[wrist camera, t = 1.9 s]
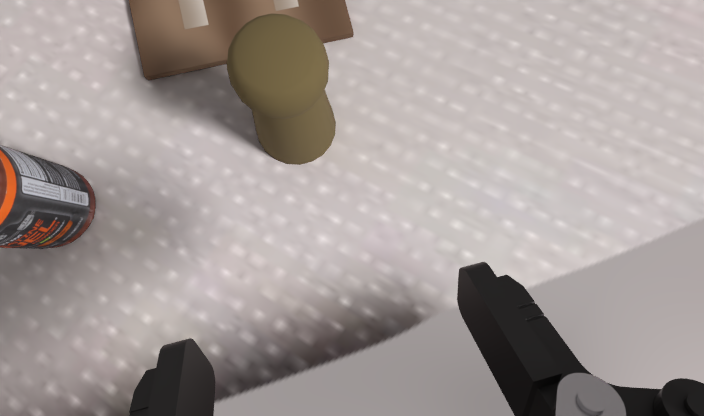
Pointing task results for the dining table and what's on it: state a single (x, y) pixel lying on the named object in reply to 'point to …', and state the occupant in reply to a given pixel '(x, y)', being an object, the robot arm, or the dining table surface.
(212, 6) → the board
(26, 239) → the supplement bottle
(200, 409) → the robot arm
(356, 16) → the dining table surface
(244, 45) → the olive pawn figure
